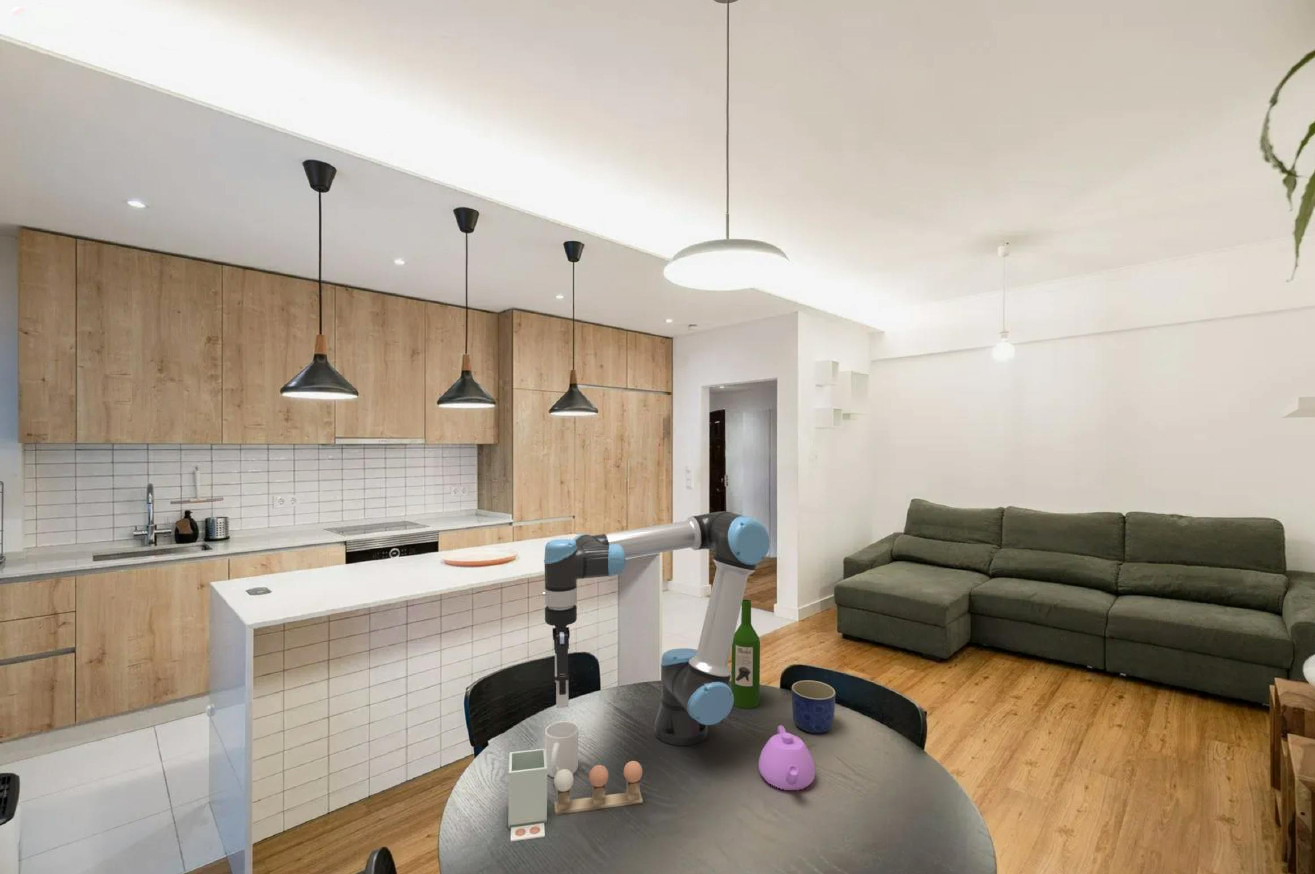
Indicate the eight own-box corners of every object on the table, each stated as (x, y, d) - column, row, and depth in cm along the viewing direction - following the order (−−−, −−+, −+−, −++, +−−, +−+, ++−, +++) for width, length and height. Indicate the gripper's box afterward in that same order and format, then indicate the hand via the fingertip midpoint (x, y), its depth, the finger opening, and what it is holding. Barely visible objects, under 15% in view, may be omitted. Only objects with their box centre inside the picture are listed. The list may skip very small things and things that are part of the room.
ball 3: (640, 774, 138) (640, 755, 138) (644, 785, 134) (644, 766, 134) (622, 776, 137) (622, 758, 137) (625, 787, 133) (625, 768, 133)
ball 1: (572, 782, 135) (572, 763, 135) (574, 794, 131) (574, 774, 131) (553, 785, 134) (553, 766, 134) (554, 796, 130) (554, 777, 130)
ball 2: (606, 778, 137) (607, 759, 137) (609, 789, 132) (609, 770, 132) (588, 780, 136) (588, 762, 136) (590, 792, 131) (590, 773, 131)
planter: (800, 711, 179) (801, 676, 179) (840, 724, 172) (841, 687, 172) (784, 728, 169) (784, 691, 169) (826, 742, 162) (826, 703, 162)
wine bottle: (730, 707, 181) (731, 603, 181) (731, 694, 190) (732, 595, 190) (759, 710, 180) (760, 605, 179) (759, 697, 189) (760, 597, 188)
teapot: (764, 803, 135) (765, 758, 135) (754, 755, 155) (754, 715, 155) (824, 806, 134) (825, 760, 134) (806, 757, 154) (807, 717, 154)
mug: (568, 790, 139) (569, 747, 139) (535, 787, 140) (535, 744, 140) (581, 761, 151) (582, 722, 151) (550, 759, 152) (551, 720, 152)
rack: (639, 793, 138) (639, 774, 138) (642, 802, 135) (642, 783, 135) (554, 804, 134) (554, 785, 134) (555, 814, 130) (555, 795, 130)
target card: (544, 824, 127) (544, 822, 127) (544, 836, 123) (544, 834, 123) (511, 828, 125) (511, 827, 125) (510, 841, 121) (510, 839, 121)
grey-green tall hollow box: (545, 799, 135) (545, 748, 135) (546, 822, 127) (547, 768, 127) (509, 804, 134) (509, 752, 133) (508, 828, 126) (508, 772, 125)
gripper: (544, 591, 150) (545, 673, 151) (545, 623, 126) (545, 720, 126) (573, 589, 152) (574, 670, 152) (580, 621, 127) (580, 717, 128)
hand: (561, 693), depth 139 cm, fingers open, 13 cm apart
